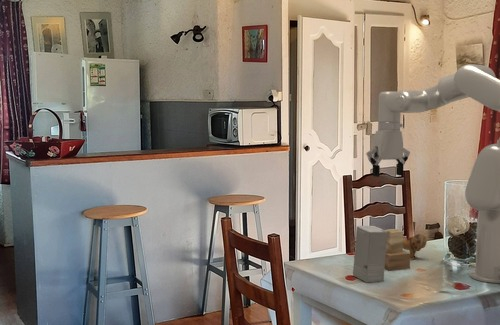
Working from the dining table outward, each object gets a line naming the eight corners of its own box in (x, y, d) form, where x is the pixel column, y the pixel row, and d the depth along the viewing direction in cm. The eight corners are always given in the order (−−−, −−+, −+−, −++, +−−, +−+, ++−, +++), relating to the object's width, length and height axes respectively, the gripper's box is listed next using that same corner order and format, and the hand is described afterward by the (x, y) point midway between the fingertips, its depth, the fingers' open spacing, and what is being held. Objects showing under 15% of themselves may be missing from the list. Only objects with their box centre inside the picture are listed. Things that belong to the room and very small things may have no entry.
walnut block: (409, 268, 196) (410, 253, 195) (389, 270, 193) (389, 255, 193) (395, 262, 203) (395, 247, 203) (375, 264, 200) (375, 249, 200)
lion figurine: (428, 258, 208) (429, 233, 208) (422, 262, 204) (423, 236, 203) (389, 252, 218) (390, 227, 217) (382, 255, 213) (383, 230, 213)
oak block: (402, 252, 196) (403, 231, 196) (391, 253, 195) (391, 232, 194) (394, 249, 201) (395, 228, 200) (383, 250, 199) (383, 229, 198)
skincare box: (352, 275, 187) (353, 225, 186) (372, 273, 190) (373, 224, 188) (366, 283, 179) (367, 231, 178) (387, 281, 182) (388, 229, 180)
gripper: (403, 126, 216) (402, 173, 218) (361, 127, 210) (360, 175, 211) (416, 127, 209) (414, 176, 211) (373, 127, 203) (372, 178, 204)
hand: (387, 175), depth 211 cm, fingers open, 9 cm apart
